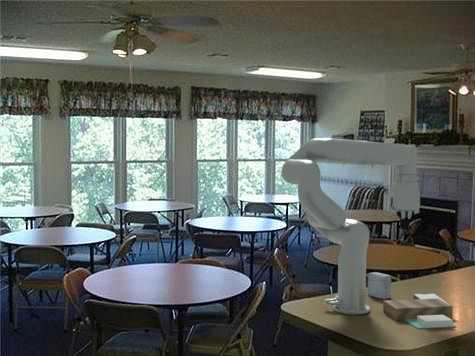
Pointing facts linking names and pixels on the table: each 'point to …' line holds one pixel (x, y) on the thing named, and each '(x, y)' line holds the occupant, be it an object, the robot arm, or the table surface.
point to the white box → (434, 321)
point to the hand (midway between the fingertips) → (404, 229)
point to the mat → (419, 326)
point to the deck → (416, 308)
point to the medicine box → (379, 285)
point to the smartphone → (428, 297)
